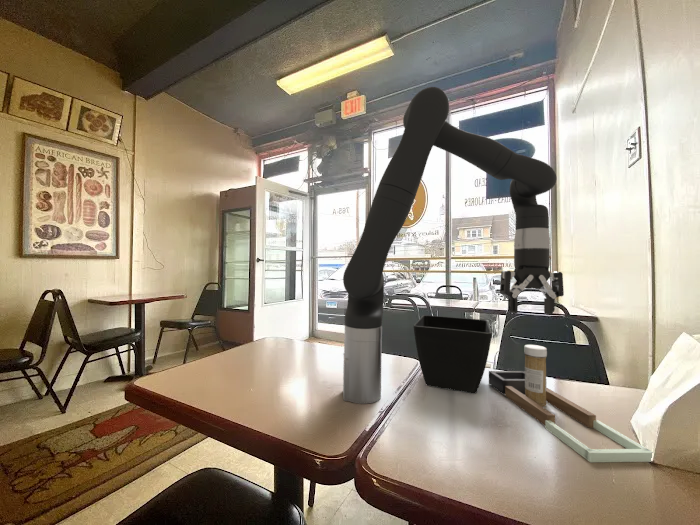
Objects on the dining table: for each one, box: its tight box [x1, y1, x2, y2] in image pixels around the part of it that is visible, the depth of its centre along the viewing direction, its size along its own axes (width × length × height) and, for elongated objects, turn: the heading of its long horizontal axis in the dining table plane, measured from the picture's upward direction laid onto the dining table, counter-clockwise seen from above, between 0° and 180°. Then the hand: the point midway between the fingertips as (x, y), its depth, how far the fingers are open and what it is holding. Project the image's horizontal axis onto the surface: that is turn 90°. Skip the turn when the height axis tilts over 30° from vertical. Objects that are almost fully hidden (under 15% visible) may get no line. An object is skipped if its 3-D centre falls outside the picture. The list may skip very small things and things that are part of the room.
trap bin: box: [488, 370, 525, 395], centre depth 79 cm, size 10×7×4 cm
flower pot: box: [413, 314, 493, 394], centre depth 83 cm, size 19×19×17 cm
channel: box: [504, 386, 597, 429], centre depth 67 cm, size 10×15×2 cm, turn 2°
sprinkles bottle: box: [523, 344, 548, 408], centre depth 70 cm, size 5×5×14 cm
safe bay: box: [544, 419, 654, 463], centre depth 54 cm, size 11×10×2 cm
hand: (531, 313), depth 73 cm, fingers open, 8 cm apart
